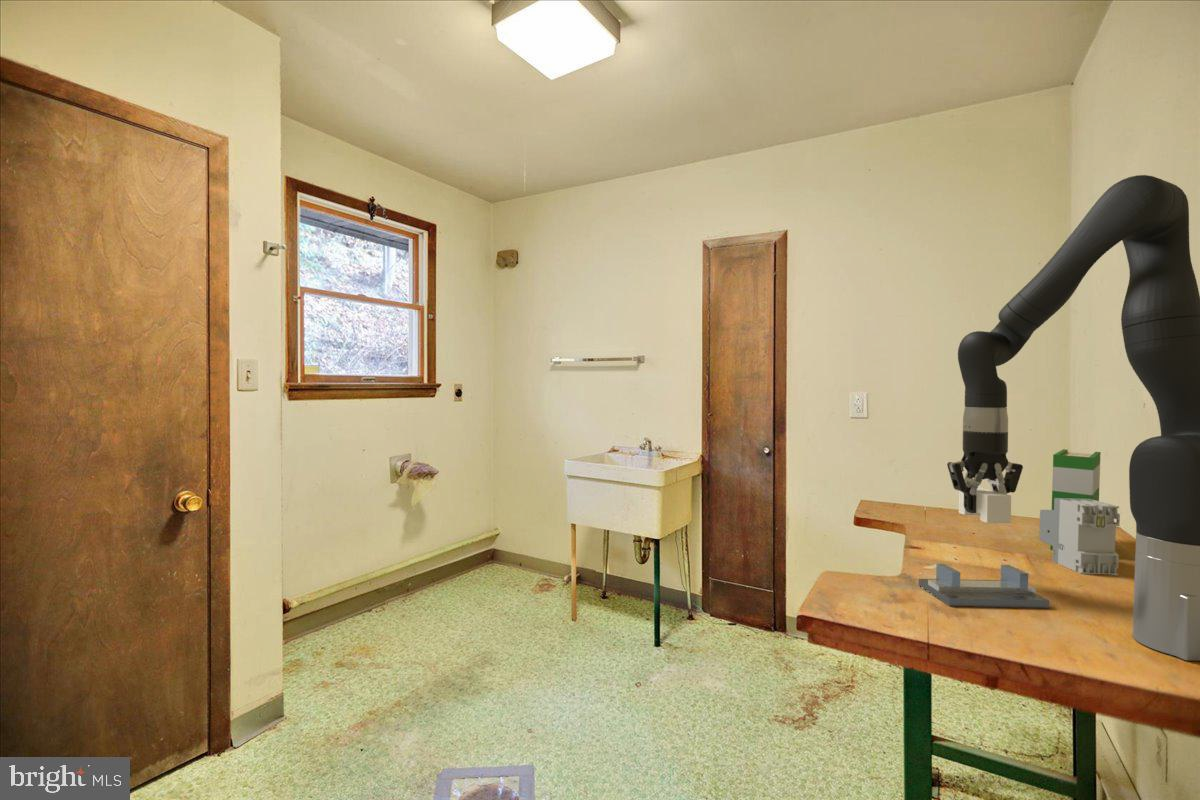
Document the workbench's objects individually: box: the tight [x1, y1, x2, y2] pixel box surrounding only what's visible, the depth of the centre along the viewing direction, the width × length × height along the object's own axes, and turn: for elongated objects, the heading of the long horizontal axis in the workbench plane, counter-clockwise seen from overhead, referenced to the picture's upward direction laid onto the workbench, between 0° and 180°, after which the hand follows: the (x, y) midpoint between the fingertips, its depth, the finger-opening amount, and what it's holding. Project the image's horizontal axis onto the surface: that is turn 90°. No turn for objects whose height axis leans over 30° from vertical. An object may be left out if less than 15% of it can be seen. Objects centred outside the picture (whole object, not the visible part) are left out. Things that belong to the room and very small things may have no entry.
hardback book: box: [1049, 449, 1102, 551], centre depth 136 cm, size 18×7×24 cm, turn 133°
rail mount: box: [918, 563, 1050, 609], centre depth 103 cm, size 10×18×6 cm, turn 88°
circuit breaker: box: [1038, 498, 1121, 576], centre depth 122 cm, size 8×14×15 cm, turn 174°
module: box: [958, 486, 1012, 524], centre depth 109 cm, size 9×4×6 cm, turn 177°
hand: (983, 512), depth 109 cm, fingers closed on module, 4 cm apart
